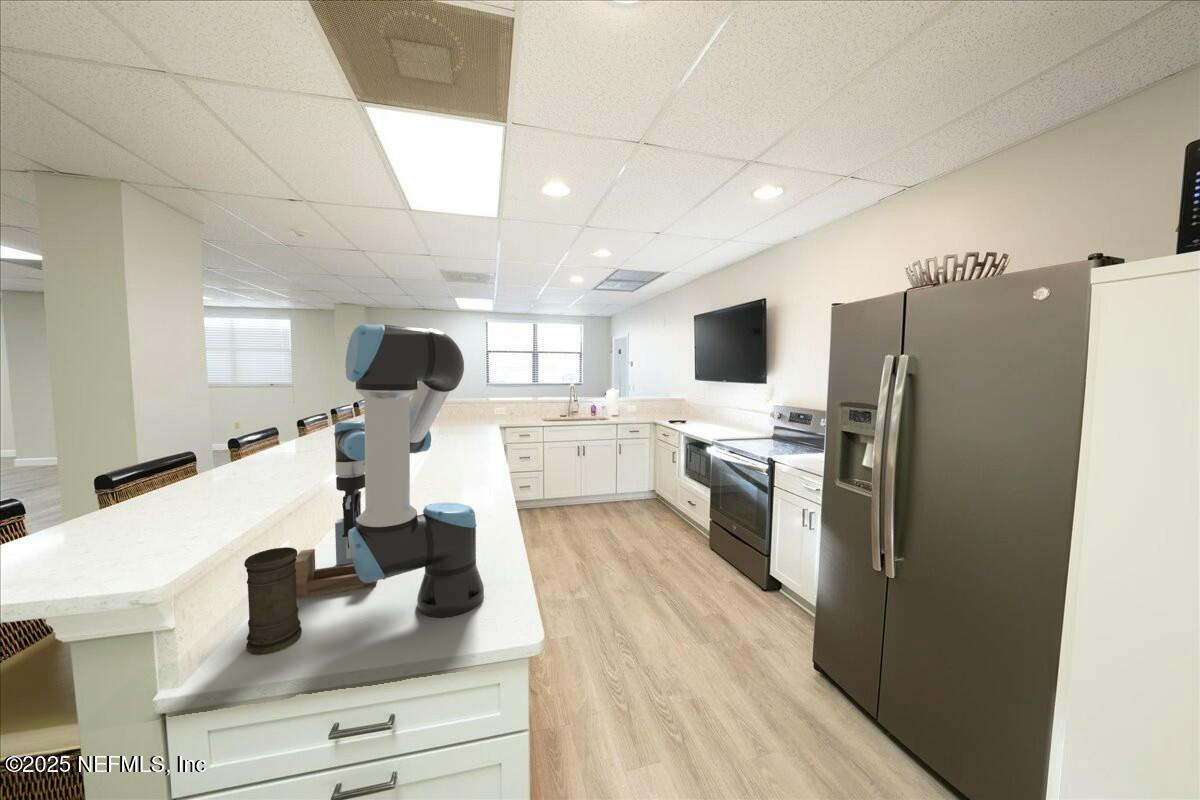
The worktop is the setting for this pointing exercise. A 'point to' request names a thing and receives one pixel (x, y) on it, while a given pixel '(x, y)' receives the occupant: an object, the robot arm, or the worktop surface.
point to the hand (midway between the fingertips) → (353, 554)
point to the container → (272, 601)
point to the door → (341, 543)
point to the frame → (324, 577)
